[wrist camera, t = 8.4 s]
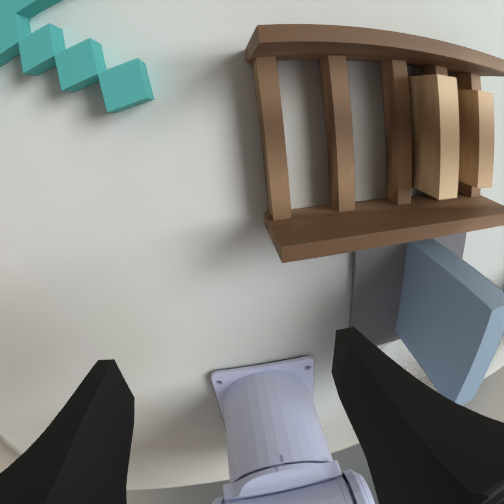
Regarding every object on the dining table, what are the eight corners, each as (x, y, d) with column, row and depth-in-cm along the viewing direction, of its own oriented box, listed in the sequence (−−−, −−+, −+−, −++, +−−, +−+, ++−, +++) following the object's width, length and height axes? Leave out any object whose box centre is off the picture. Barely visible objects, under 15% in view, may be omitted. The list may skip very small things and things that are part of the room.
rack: (469, 200, 20) (513, 223, 15) (265, 225, 19) (282, 263, 15) (468, 65, 16) (517, 65, 11) (245, 49, 15) (257, 25, 10)
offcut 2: (454, 172, 19) (491, 187, 15) (440, 173, 19) (477, 188, 15) (453, 91, 17) (492, 93, 13) (438, 89, 16) (477, 90, 13)
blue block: (415, 325, 24) (472, 399, 15) (395, 330, 24) (450, 410, 15) (429, 236, 20) (514, 300, 12) (407, 239, 20) (492, 309, 12)
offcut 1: (420, 181, 19) (457, 197, 15) (403, 183, 19) (438, 199, 15) (417, 79, 16) (456, 77, 13) (398, 77, 16) (437, 74, 12)
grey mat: (445, 321, 25) (447, 323, 24) (347, 349, 24) (349, 352, 24) (465, 217, 20) (468, 218, 20) (354, 233, 20) (356, 235, 20)
